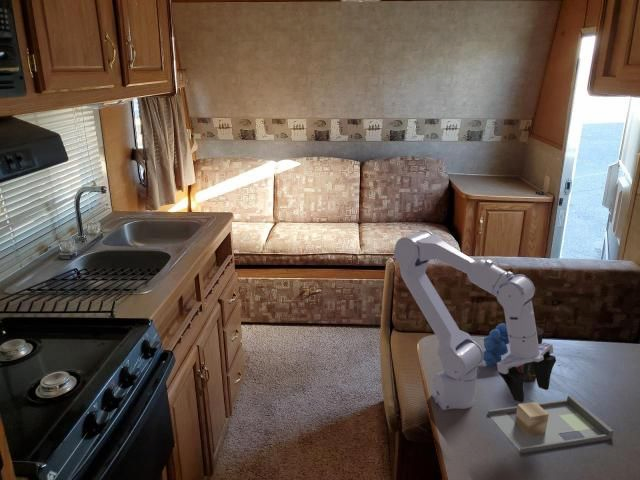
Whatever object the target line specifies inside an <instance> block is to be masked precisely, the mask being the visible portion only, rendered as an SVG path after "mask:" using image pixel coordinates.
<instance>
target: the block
mask: <svg viewBox="0 0 640 480" xmlns="http://www.w3.org/2000/svg"><path fill="white" fill-rule="evenodd" d="M537 403H538V402H536V401H532V402H524V403H523V402H522V403H518V404H517V405H516V406H517V412H515V419H514V422H515V424H516V425H517V426H518V427H519V428H520V430H521V431H522V432H523V433H524V434H525V435H526V436H527V437H528V436H535V435H541V434H545V433H546V427H547V422H548V416H549V414H548V413H547V412H546V411H545V410H544V409H543V408H542V407H541V406H539V405H538V404H537Z"/></svg>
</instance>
